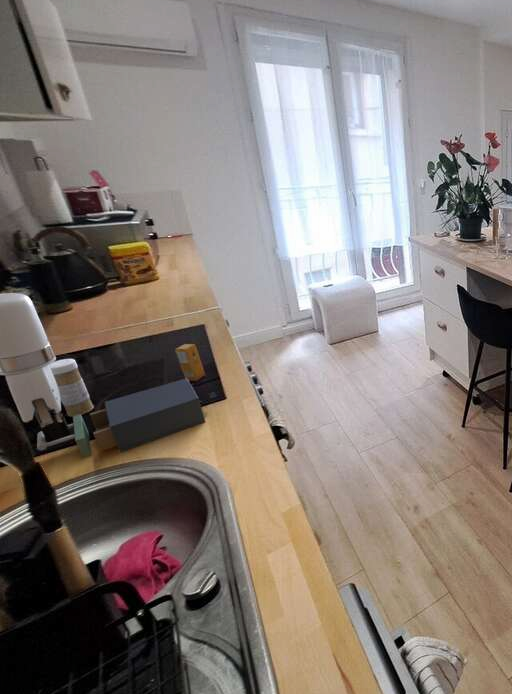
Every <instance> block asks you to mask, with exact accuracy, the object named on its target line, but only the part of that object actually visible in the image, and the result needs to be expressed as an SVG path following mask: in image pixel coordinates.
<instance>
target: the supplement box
mask: <svg viewBox="0 0 512 694" xmlns="http://www.w3.org/2000/svg"><path fill="white" fill-rule="evenodd" d="M196 345H197V344H195V343H184V344H182V345H180V346H178V347H177V348H175V349H174V352H175V354H176V357H177V359H178V360H177V361H178V362H179V365H180V366H179V367H180V368H181V371H182V373H183V377H184V379H185V378H187V380H188V381H189V382H198V381H199V380H201V379H202V378H203V377H205V376H206V372H205V370H204V367H203V363H202V360H201V358H200V354H199V351H198V349H197V346H196Z"/></svg>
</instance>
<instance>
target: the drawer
mask: <svg viewBox="0 0 512 694" xmlns="http://www.w3.org/2000/svg"><path fill="white" fill-rule="evenodd" d="M89 415H90V418H91V420H92V423H93V426H94V428H95V431H93V433H92V434H93V437H94V439H95V441H96V444H97V446H98V448H99V451H100V452H102V451H105V450H108V449H110V448H113V447H116V446H118V445H117V443H116V440H115V438H114V435H113V433H112V430H111V428H110V424H109V420H108V415H107V411H106V408H103V409H100V410H97V411H94V412H91V413H90V412H89ZM72 422H73V423H70V424H67V425H68V427H69V429H72V428H73V431H74V433H73V434H71V435H70V436H67V437H64V438H61V439H58V440H54V441H51V442H48V443H47V441H46V439H45V437H44V434H43V432H42V430H40V431H38V433H37V434H36V435H37V437H36V438H37V439H36V442H37V443H36V448H37V450H38V451H44V450H46V449H47V448H48V447H51V446H54V445H57V444H60V443H63V442H66V441H69V440H73V439H74V440H75V443H76V445H77V448H78V451H79V453H80V454H81V457H82V459H84V458H87V457H89V456H92V449H91V440H90V439H91V438H90V434H89V433H90V432H89V429H88V428H87V424H86V423H85V420H84V418H83V415H81V414H79V415H76V416H73V417H72Z"/></svg>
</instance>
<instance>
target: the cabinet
mask: <svg viewBox="0 0 512 694" xmlns="http://www.w3.org/2000/svg"><path fill="white" fill-rule="evenodd" d="M104 406H105V409H106V411H107V415H108V420H109V424H110V428H111V430H112V433H113V435H114V438H115V440H116V443H117V445H116V446H117V448H118V450H119V452H120V453H123V452H125V451H128V450H131V449H134V448H136V447H140V446H142V445H145V444H148V443H151V442H154V441H156V440H159V439H162V438H164V437H167V436H169V435H172V434H176V433H178V432H181V431H184V430H187V429H189V428H192V427H195V426H197V425H200V424H203V423H205V422H206V419H205V416H204V411H203V409H202V405H201V402H200V398H199V397H198V395H197V393H196V392H195V390H194V388H193V386H192V384H191V383H190V381H188V380H187V378H185V377H184V378H182V379H179V380H175V381H172V382H168V383H165V384H162V385H157V386H155V387H151V388H148V389H145V390H140V391H137V392H134V393H130V394H128V395H124V396H121V397H117V398H113V399H110V400H106V401H104Z"/></svg>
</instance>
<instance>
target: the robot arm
mask: <svg viewBox="0 0 512 694" xmlns="http://www.w3.org/2000/svg"><path fill="white" fill-rule="evenodd" d="M36 310H37V309H36V308H35V305H34V303H33V301H32V299H31V298H30V296H28V295H26V294H24V293H20V292H19V293H18V292H5V293H0V376H4V377H5V380H6V383H7V386H8V389H9V391H10V394H11V396H12V399H13V401H14V403H15V406H16V408H17V410H18V413H19V415H20V418H21V420H22V422H23V423H29V422H31V421H33V419H34V416H35V418H36V420H37V422H38V424H39V428H40V431H42V432H43V434H44V437H45V439H46V441H47V443H48V442H51V441H54V440H58V439H61V438H64V437H67V436H70V435H72V433H71V430H70V428H69V427H68V425H69V424H68V422H67V421H66V418H65V416H63V414H62V412H61V411H62V404H61V403H62V401H61V399H60V394H59V390H58V386H57V383H56V381H55V378H54V376H53V373H52V371H51V368H50V366H49V364H51V363H53V362H55V361H57V357H56V355H55V353H54V351H53V348H52V345H51V343H50V341H49V338H48V336H47V334H46V332H45V329H44V326H43V325H42V321H41V320H40V317H39V315H38V313H37V311H36Z"/></svg>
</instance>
